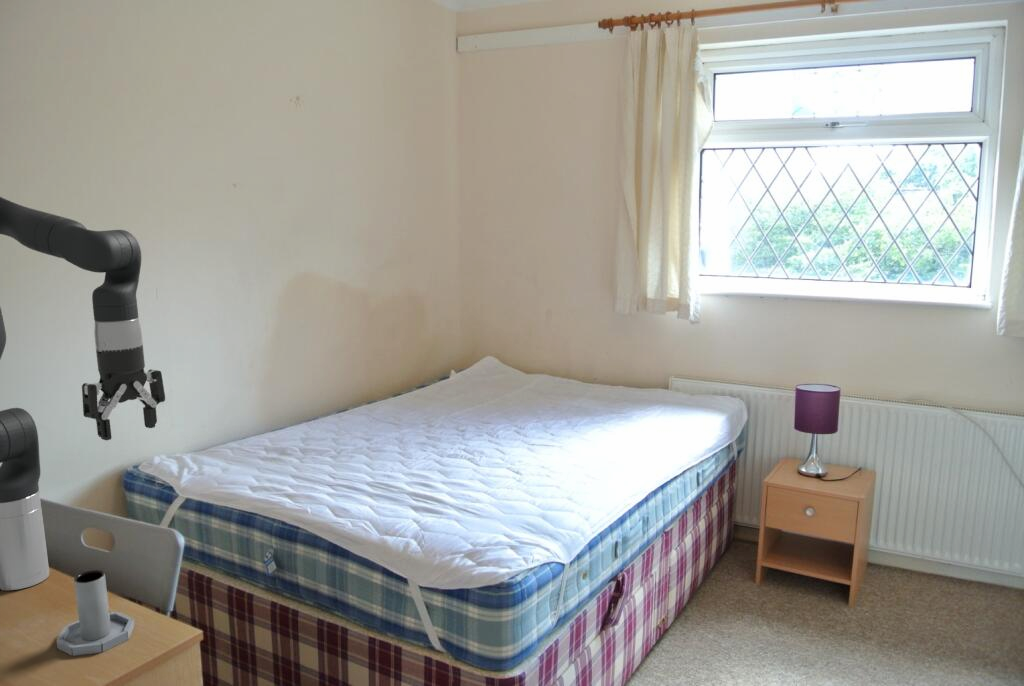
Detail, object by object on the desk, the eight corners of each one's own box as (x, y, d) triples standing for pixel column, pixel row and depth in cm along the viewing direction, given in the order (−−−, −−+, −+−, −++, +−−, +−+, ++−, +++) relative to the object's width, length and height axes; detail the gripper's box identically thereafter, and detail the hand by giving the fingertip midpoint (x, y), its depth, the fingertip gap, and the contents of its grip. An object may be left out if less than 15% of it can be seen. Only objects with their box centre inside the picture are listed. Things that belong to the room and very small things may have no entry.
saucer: (46, 642, 136) (45, 634, 136) (108, 614, 145) (107, 607, 145) (83, 661, 131) (82, 653, 130) (145, 631, 140) (144, 623, 139)
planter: (116, 627, 140) (110, 570, 138) (101, 641, 136) (94, 582, 134) (91, 626, 140) (84, 569, 139) (75, 640, 136) (67, 582, 134)
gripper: (143, 336, 154) (151, 421, 157) (67, 349, 142) (78, 440, 145) (168, 339, 150) (176, 426, 153) (92, 353, 138) (103, 447, 141)
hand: (128, 433), depth 149 cm, fingers open, 8 cm apart
